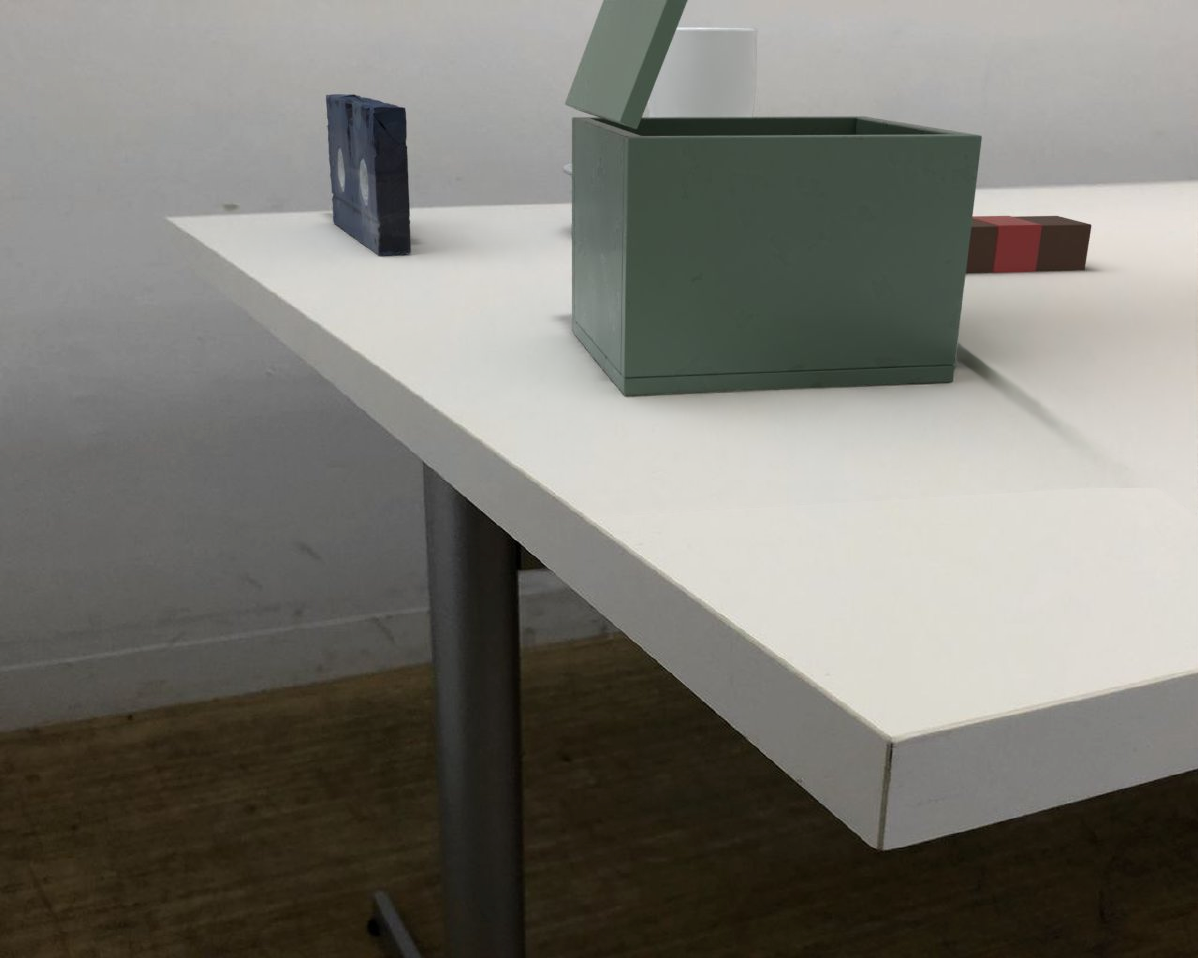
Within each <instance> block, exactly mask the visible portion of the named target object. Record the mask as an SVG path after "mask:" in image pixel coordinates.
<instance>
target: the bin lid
mask: <svg viewBox="0 0 1198 958" xmlns="http://www.w3.org/2000/svg"><path fill="white" fill-rule="evenodd" d="M688 2H689V0H602V3H601V6H600V8H599V11H598V13H597V17H596V19H595V22H594V24H593V27H592V30H591V32H590V35H589V38H588V40H587V43H586V46H585V49H584V51H583V54H582V56H581V59H580V62H579V64H578V67H577V70H576V74H575V75H574V78H573V81H572V83H571V87H570V89H569V92H568V94H567V97H566V99H565V102H564V105H565V106H567V107H569V108H572V109H574V110H576V111H579V112H582V113H585V114H588V115H590V116H593V117H600V118H603V119H606V120H609V121H612V122H615V123H618V124H621V125H624V126H627V127H630V128H634V129H637V128H638V126H639V123H640V121H641V118H642V117H643V116H644V113H645V110H646V108H647V106H648V100H649V98H650V95H651V93H652V90H653V87H654V85H655V82H656V80H657V77H658V75H659V72H660V70H661V67H662V65H663V62H664V59H665V57H666V54H667V52H668V49H669V47H670V44H671V42H672V39H673V37H674V34H675V31H676V29H677V27H678V26H679V23H680V21H681V18H682V16H683V14H684V11H685V8H686V6H687V3H688Z"/></svg>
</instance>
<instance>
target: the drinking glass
mask: <svg viewBox="0 0 1198 958" xmlns="http://www.w3.org/2000/svg"><path fill="white" fill-rule="evenodd" d="M757 72H758V29H757V28H755V27H692V26H691V27H683V26H682V27H681V26H680V27H678V26H677V29H676V31H675V34H674V37H673V39H672V42H671V44H670V47H669V49H668V52H667V54H666V57H665V59H664V62H663V65H662V67H661V70H660V72H659V75H658V77H657V80H656V82H655V85H654V87H653V90H652V93H651V95H650V98H649V100H648V103H647V117H754V109H755V101H756V88H757V74H758V73H757Z"/></svg>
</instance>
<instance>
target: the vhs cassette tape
mask: <svg viewBox="0 0 1198 958" xmlns="http://www.w3.org/2000/svg"><path fill="white" fill-rule="evenodd" d="M325 103H326V119H327V125H326V126H327V127H326V128H327V142H328V155H329V156H328V161H329V169H330V171H329V173H330V174H329V176H330V177H329V178H330V186H331V193H332V198H331V202H332V221H333V222H332V223H333V224H335V225H336V226H338V227H339V228H340V229H342V230H343V231H344V232H346V233H347V234H348V235H350V236H351V237H353V238H354V239H355V240H356V241H358V242H359V243H361V244H362V245H363V246H365V247H366V248H368V249H369V250H370V251H371V252H373V253H375V254H376V255H379V256H383V255H384V256H385V255H386V256H387V255H388V256H389V255H401V254H402V255H405V254H411V251H412V246H411V244H412V243H411V220H410V217H411V210H410V207H411V205H410V184H409V156H408V146H407V139H408V138H407V137H408V129H407V125H408V124H407V112H406V110H407V109H406V107H403V106H398V105H396V104H393V103H392V104H391V103H389V102H383V101H381V100H377V99H373V98H370V97H364V96H363V97H362V96H361V95H357V94H353V93H352V94H343V93H342V94H341V93H338V94H337V93H334V94H326V95H325Z"/></svg>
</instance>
